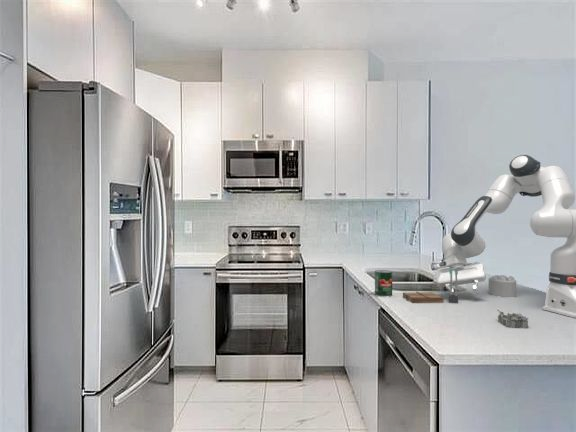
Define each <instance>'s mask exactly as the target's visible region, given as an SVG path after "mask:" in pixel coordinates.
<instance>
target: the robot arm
mask: <svg viewBox="0 0 576 432" xmlns="http://www.w3.org/2000/svg"><path fill="white" fill-rule="evenodd" d="M508 167H509V168H508V169H509V172H510V174H511V175H510V174H507V173H505V174H501V175H500V176H498V177H497V178H496V179H495V181H493V183H492V184H491V185H490V187H489V188H488V190H487V191H486V192H485V195H482V196H480V197H479V198H478V199H477V200H476V201H475V202H474V203H473V204H472V205H471V207H470V208H469V210H467V212H466V213H465V215H464V216H463V217H462V218H461V220H460V221H459V222H457V223H456V224H455V225H454V226H453V228H451V231H450V233H447V234H445V235H444V236H443V238H442V240H441V249H442V254H443V256H444V258H445V259H444V260H442V261H440V262H438V263H437V264H436V265H435V266H436V271H435V280H436V281H435V282H436V286H437V287H438V288H445V289H446V290H448V292H450V268H451V269H452V287H453V286H454V287H455V269H458V274H457V286H462V285H467V284H468V285H469V284H474V285H473V286H472V289H473V292H477V291H478V286H479V283H482V282H485V281H486V280H487V276H486V273H485V270H484V267H485V266H484V265H483V263H481V262H478V261H476V262H468V261H467V259H470V258H473V257H477V256H479V255H481V254H482V253H483V252H484V251H485V248H486V242H485V241H484V239H483V238H482V237H481V235H480V234H479V233H478V232H477V227H476V226H477V224H478V223H479V222H480V221H481V219H482V218H483V216H484V215H485V214H486V213H487V214H491V215H492V214H493V215H500V214H503V213H505V212H506V211H507V209H508V208H509V207H510V205H511V203H512V201H513V200H514V198H515V196H516V195H517V194H519V195H520V196H523V197H525V196H527V197H540V196H542V197H541V198H542V203H543V204H542V207H540V209H538V210H536V211H535V212H534V213H533V214H532V216H531V218H530V219H529V225H530V230H531V231H532V232H533V233H534V235H536V236H539V237H545V238H565V239H566V241H565V243H564V245H561V246H559V247H557V248H555V249H553V250H552V251H551V253H550V271H549V273H548V282H549V284H548V286H547V288H546V292H545V293H546V294H545V302H544V303H545V304H544V305H543V306H542V310H543V311H547V312H551V313H555V314H559V315H562V316H567V317H570V318H575V319H576V209H570V208H571V207H572V206H573V205H574V204H575V200H576V195H575V193H574V189H573V188H572V184H571V182H570V180H569V178H568V176H567V174H566V172H565V171H564V170H563V169H562V168H561V167H560V166H557V165H549V166H545V167H544V166H541V162H540V161H539V160H537V159H535V158H534V157H532V156H530V155H528V154H521V155H517V156H516V157H514V158H513V159H511V161H510V163H509V166H508ZM454 291H455V290H454V288H452V295H455V292H454Z"/></svg>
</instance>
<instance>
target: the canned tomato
mask: <svg viewBox="0 0 576 432" xmlns="http://www.w3.org/2000/svg"><path fill="white" fill-rule="evenodd" d="M374 295H375V296H376V297H382V296H389V297H392V296H393V270H389V269H377V270H376V269H375V270H374Z"/></svg>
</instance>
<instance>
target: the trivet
mask: <svg viewBox="0 0 576 432" xmlns="http://www.w3.org/2000/svg"><path fill="white" fill-rule="evenodd" d="M402 298H403V299H405V298H406V300H407V299H408V300H407V301H409V302H410V303H413V304H425V303H426V304H432V303H433V304H434V303H435V304H436V303H437V304H439V303H440V304H443V303H444V297H442V296H440V295H438V294H436V293H434V292H432V291H429V292H425V291H424V292H423V291H422V292H419V291H415V292H407V291H405V292H402Z"/></svg>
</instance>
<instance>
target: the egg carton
mask: <svg viewBox="0 0 576 432" xmlns="http://www.w3.org/2000/svg"><path fill="white" fill-rule="evenodd" d="M497 312H498V313H499V314H498V315H497V321H498V323H499V322H500V323H501V325H505V327H506V328H512V329H515V328H522V329H527V328H528V327H529V317H527V316H525V315H523V314H522V313H521V312H518V313H514V312H513V313H510V312H507V314H504V311H501V310H499V309H497Z"/></svg>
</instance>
